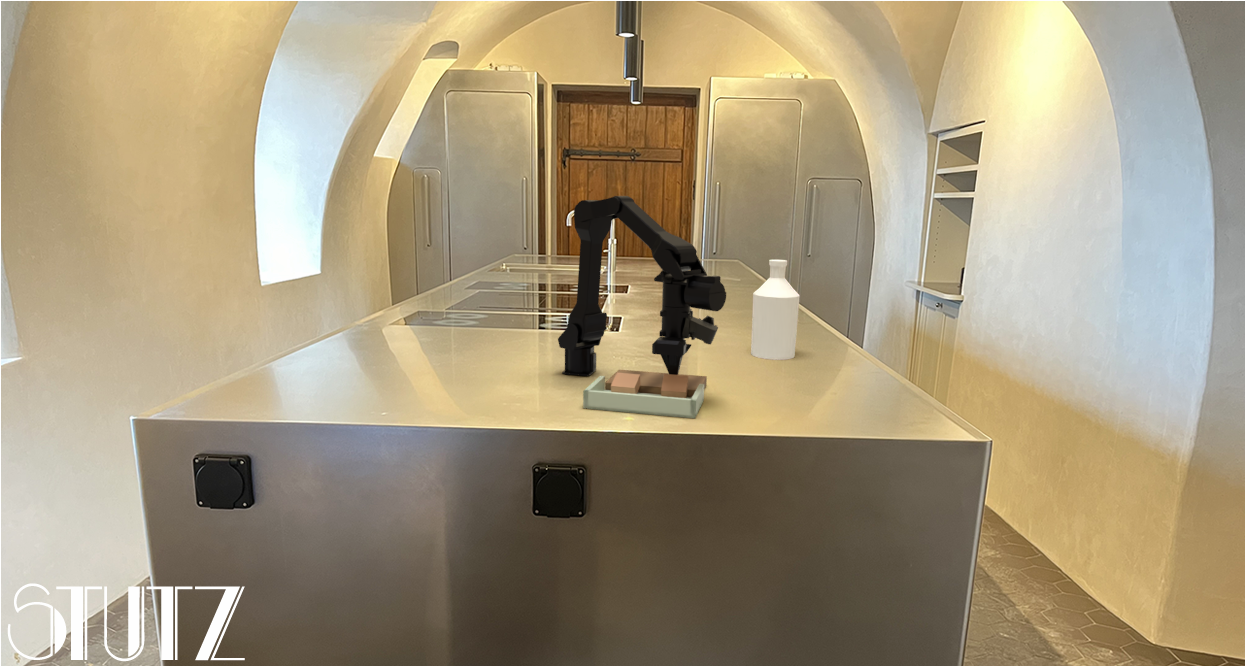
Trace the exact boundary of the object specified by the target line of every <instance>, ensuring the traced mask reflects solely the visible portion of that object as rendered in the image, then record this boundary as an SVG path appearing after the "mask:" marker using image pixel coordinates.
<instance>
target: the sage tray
mask: <svg viewBox="0 0 1250 666" xmlns="http://www.w3.org/2000/svg"><path fill="white" fill-rule="evenodd" d="M605 382H606V375H599V376H598V377H597V378H596V379H595V380H594V381H593V382H592V383H590V384H589V385H588V386H587V387H586V388H585V389H584V390H583V394H582V396H583V398H582V400H583V402H582V406H583V407H582V408H583V409H586V408H587V409H588V410H596V411H597V410H598V411H610V412H621V413H631V414H642V415H652V416H654V415H655V416H663V417H674V418H683V419H684V418H686V419H696V418H697V416H698V413H699V411H700V409H701V407H702V405H703V403H704V399H705V389H704V384H699V385H698V387H697V389H696V391H695V393H694V395H693V396H692V397H687V398H676V397H665V396H661V395H660V394H648V393H637V394H630V393H618V392H611V390H605Z"/></svg>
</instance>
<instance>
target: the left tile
mask: <svg viewBox="0 0 1250 666" xmlns="http://www.w3.org/2000/svg"><path fill="white" fill-rule="evenodd" d="M615 373H616V372H615ZM640 385H641V381H640V374H628V373H616V375H615V378H614V380H613V382H612V384H611V392H618V393H630V394H637V392H638V390H639V387H640Z"/></svg>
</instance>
